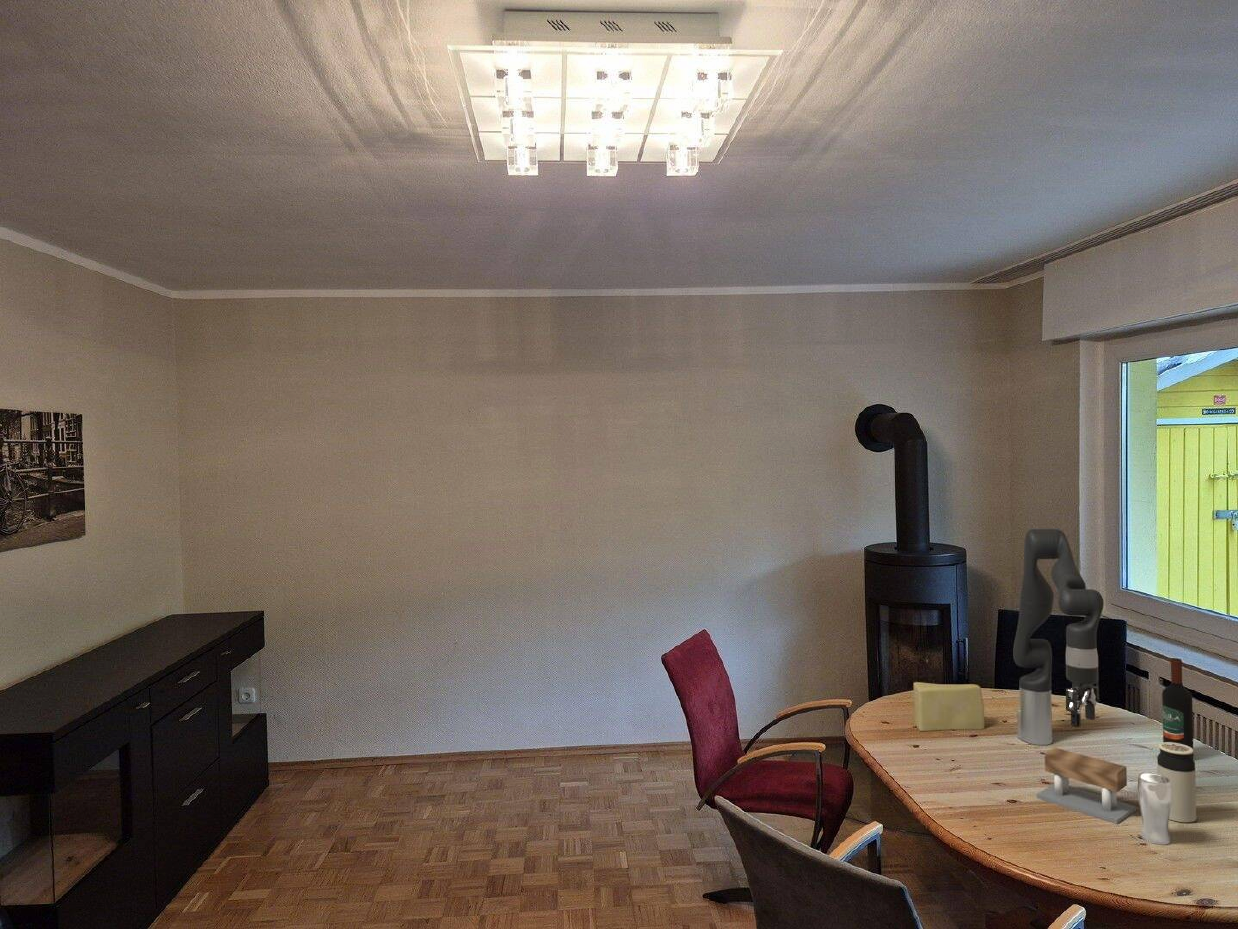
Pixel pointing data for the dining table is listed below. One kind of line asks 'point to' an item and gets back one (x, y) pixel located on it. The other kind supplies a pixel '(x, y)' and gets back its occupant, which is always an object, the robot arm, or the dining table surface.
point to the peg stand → (1086, 800)
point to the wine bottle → (1177, 709)
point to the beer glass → (1155, 807)
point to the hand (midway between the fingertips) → (1083, 722)
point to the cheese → (948, 707)
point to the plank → (1086, 769)
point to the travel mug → (1179, 779)
